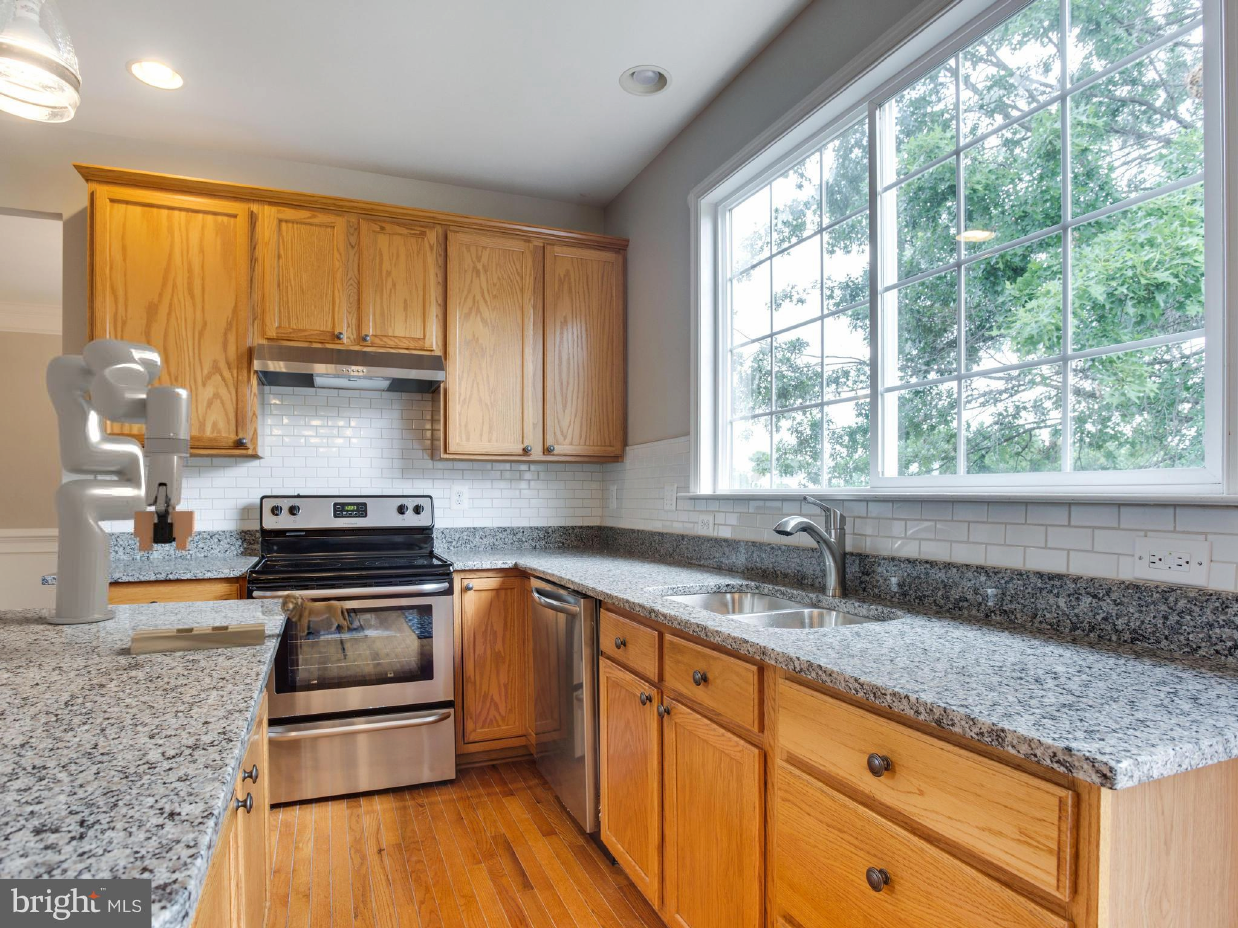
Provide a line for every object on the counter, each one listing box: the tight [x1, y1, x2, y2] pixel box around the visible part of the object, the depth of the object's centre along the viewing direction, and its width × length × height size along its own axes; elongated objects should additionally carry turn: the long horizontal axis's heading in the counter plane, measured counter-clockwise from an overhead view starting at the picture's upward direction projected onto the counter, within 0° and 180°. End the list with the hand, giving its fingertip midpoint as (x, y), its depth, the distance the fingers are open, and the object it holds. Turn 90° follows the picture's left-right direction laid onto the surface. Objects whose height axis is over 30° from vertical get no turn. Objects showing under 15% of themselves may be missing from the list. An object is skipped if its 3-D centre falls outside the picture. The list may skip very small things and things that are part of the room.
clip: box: [133, 510, 196, 552], centre depth 139 cm, size 4×10×8 cm, turn 115°
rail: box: [130, 622, 266, 655], centre depth 138 cm, size 7×22×3 cm, turn 117°
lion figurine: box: [280, 591, 355, 637], centre depth 151 cm, size 15×5×9 cm, turn 120°
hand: (164, 541), depth 139 cm, fingers closed on clip, 3 cm apart
